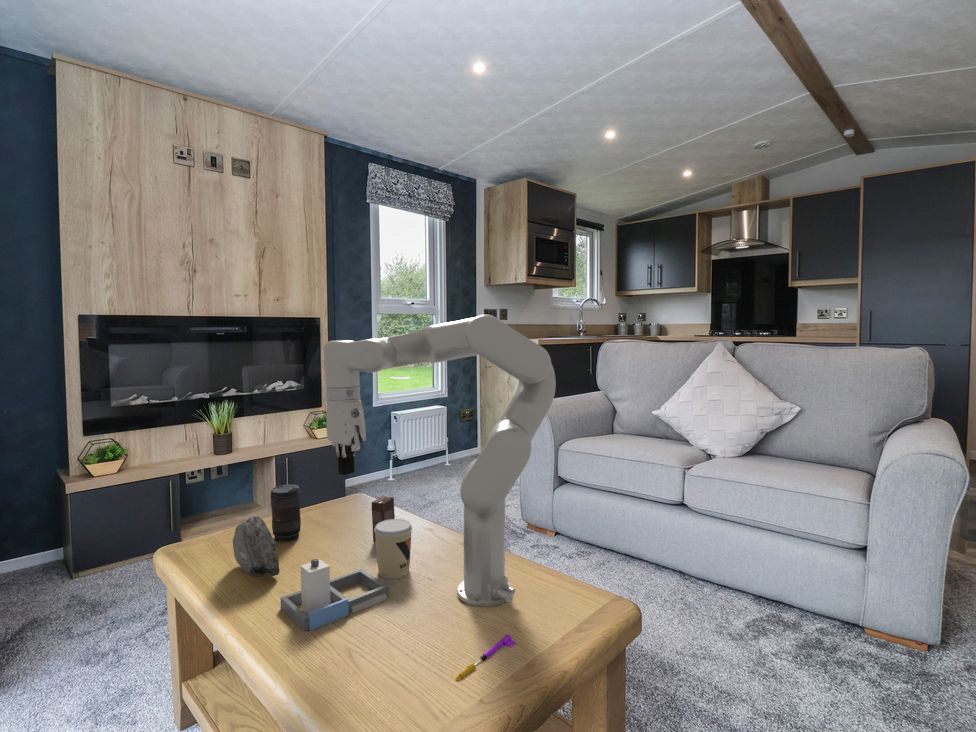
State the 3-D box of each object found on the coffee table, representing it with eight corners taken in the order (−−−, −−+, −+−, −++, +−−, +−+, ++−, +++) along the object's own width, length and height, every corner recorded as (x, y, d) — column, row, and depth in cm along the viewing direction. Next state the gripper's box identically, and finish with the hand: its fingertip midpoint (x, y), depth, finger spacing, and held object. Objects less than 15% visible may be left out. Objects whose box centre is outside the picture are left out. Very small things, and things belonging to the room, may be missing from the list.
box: (382, 535, 156) (381, 495, 155) (395, 537, 155) (395, 497, 154) (371, 542, 151) (370, 501, 150) (385, 544, 149) (384, 503, 148)
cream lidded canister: (404, 581, 127) (404, 533, 126) (369, 578, 129) (368, 530, 128) (417, 564, 136) (417, 519, 136) (383, 561, 138) (383, 517, 137)
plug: (330, 610, 114) (329, 560, 114) (310, 618, 111) (309, 567, 110) (321, 602, 118) (320, 554, 117) (301, 610, 115) (300, 560, 114)
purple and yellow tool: (507, 637, 104) (453, 680, 92) (508, 632, 104) (455, 674, 92) (517, 644, 103) (465, 689, 90) (519, 639, 103) (466, 684, 90)
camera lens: (265, 541, 152) (264, 490, 151) (284, 531, 159) (282, 483, 158) (289, 544, 149) (287, 493, 148) (307, 534, 157) (305, 485, 156)
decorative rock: (281, 580, 128) (280, 520, 127) (254, 589, 123) (251, 527, 122) (256, 559, 140) (254, 504, 139) (230, 567, 135) (227, 510, 134)
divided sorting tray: (390, 597, 120) (389, 582, 119) (305, 632, 106) (305, 615, 106) (361, 578, 129) (361, 564, 129) (280, 608, 115) (280, 593, 115)
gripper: (375, 394, 117) (378, 475, 118) (340, 390, 127) (344, 464, 129) (345, 398, 112) (349, 483, 113) (311, 393, 122) (315, 471, 123)
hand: (346, 473), depth 121 cm, fingers closed
